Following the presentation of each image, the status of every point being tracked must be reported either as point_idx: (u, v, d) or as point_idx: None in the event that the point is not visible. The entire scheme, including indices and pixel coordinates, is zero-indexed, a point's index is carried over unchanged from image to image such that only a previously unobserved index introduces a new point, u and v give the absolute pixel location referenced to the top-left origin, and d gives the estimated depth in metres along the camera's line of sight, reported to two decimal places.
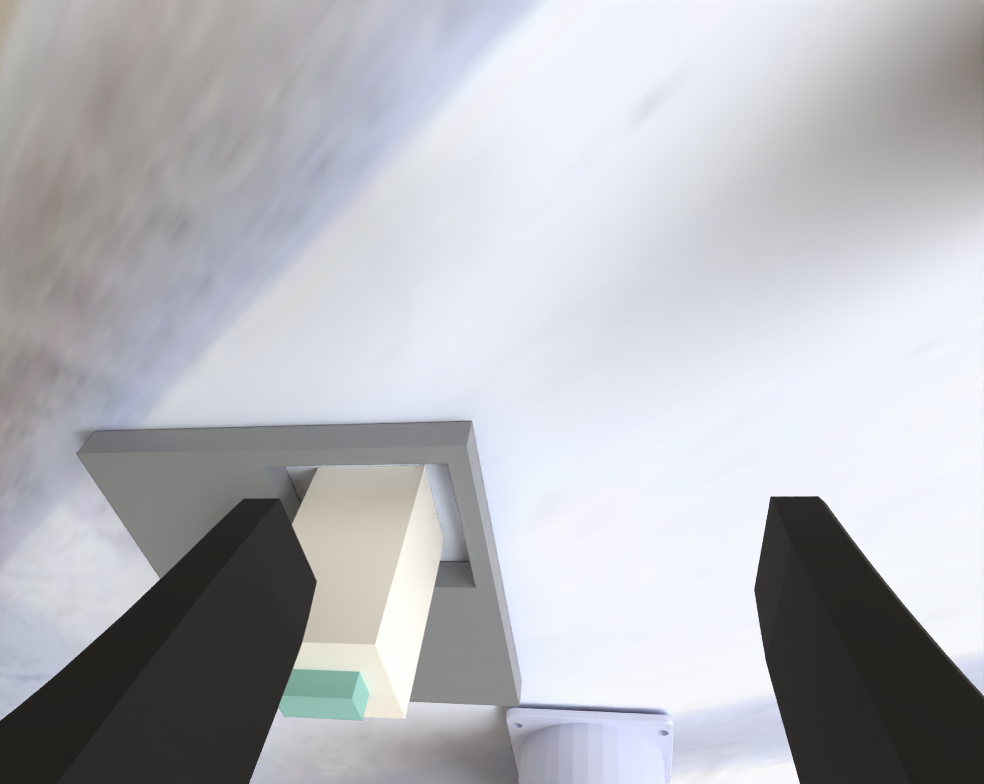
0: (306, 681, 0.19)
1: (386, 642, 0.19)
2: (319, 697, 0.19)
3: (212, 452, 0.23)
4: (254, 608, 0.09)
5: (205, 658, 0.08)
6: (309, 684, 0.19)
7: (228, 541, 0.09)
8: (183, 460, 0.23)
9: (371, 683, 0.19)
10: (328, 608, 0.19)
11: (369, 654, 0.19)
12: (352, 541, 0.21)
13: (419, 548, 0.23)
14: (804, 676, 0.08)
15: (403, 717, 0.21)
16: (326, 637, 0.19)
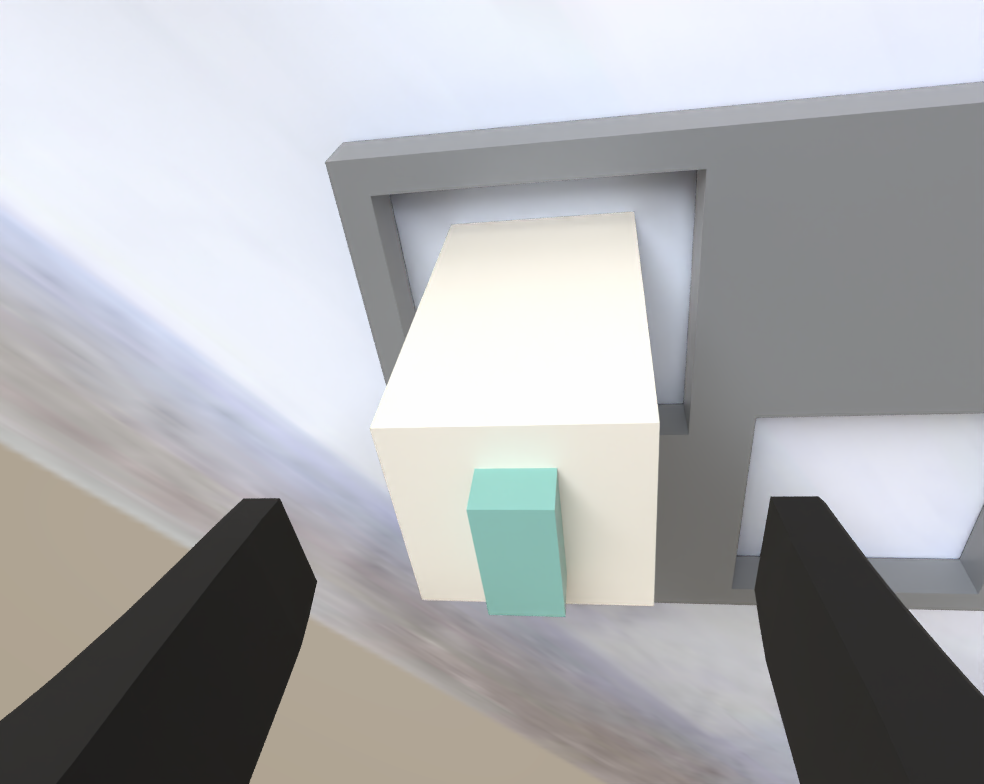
0: None
1: (434, 400, 0.10)
2: (477, 554, 0.10)
3: None
4: (254, 608, 0.09)
5: (205, 658, 0.08)
6: None
7: (228, 541, 0.09)
8: None
9: (514, 458, 0.10)
10: None
11: (408, 443, 0.10)
12: None
13: (511, 270, 0.13)
14: (804, 676, 0.08)
15: (654, 425, 0.09)
16: (393, 491, 0.10)
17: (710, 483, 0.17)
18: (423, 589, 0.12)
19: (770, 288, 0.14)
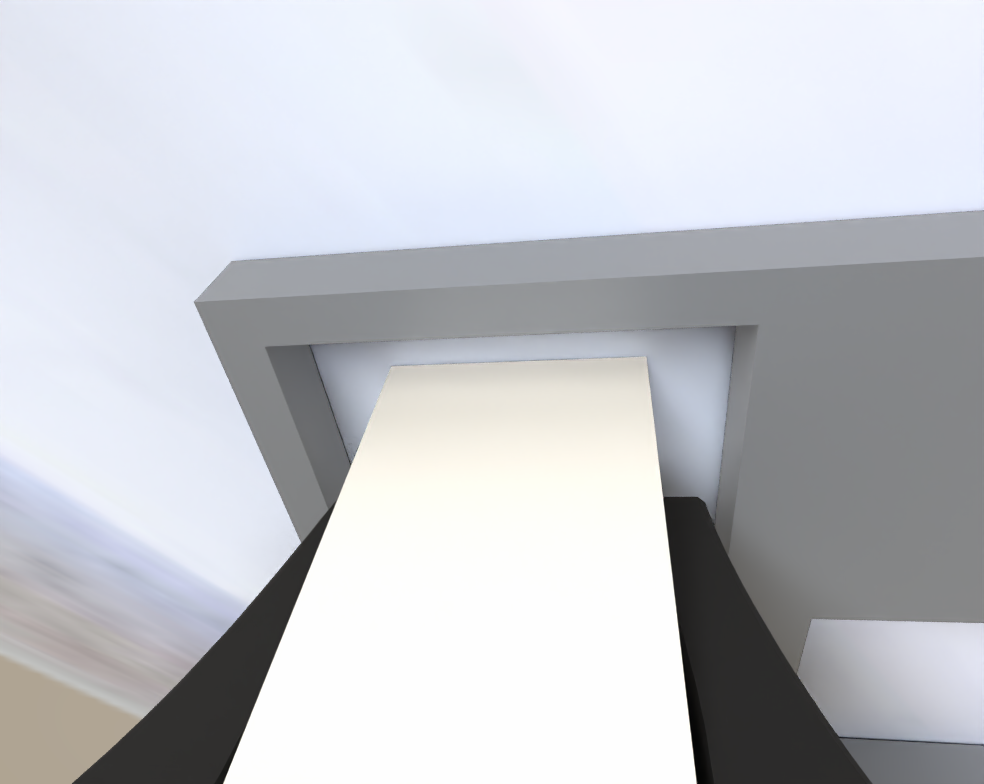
0: None
1: None
2: None
3: None
4: None
5: None
6: None
7: None
8: None
9: None
10: None
11: None
12: None
13: (466, 470, 0.09)
14: None
15: None
16: None
17: None
18: None
19: (843, 475, 0.09)
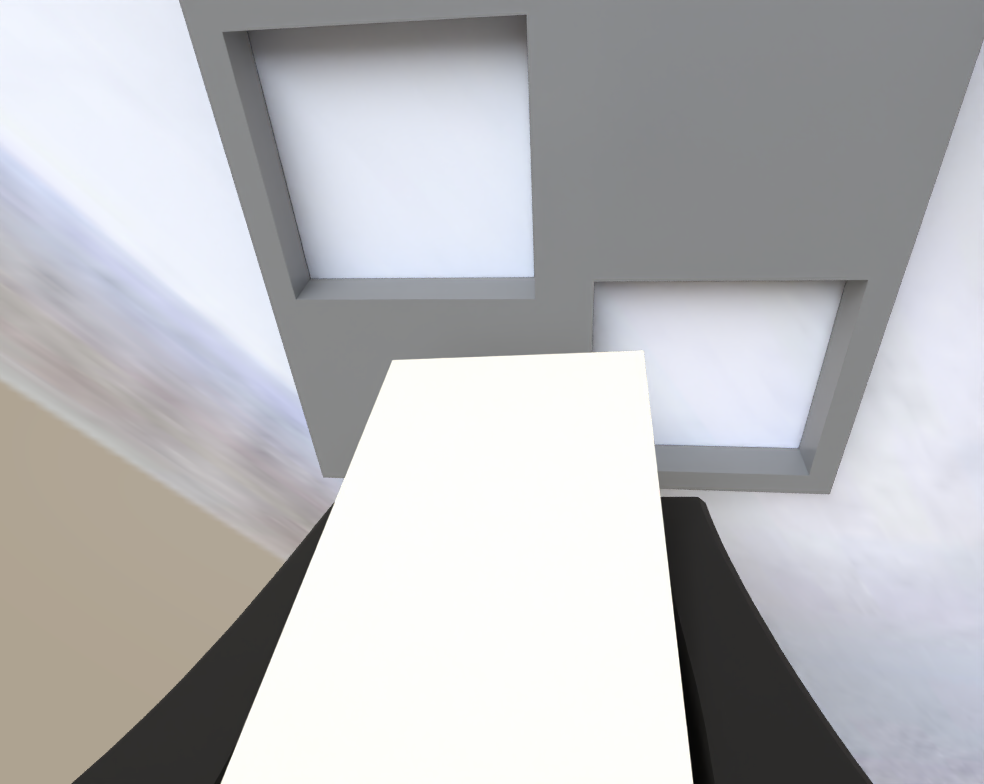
0: None
1: (315, 780, 0.06)
2: None
3: (286, 347, 0.19)
4: None
5: None
6: None
7: None
8: (308, 381, 0.20)
9: None
10: None
11: None
12: None
13: (466, 460, 0.09)
14: None
15: None
16: None
17: (559, 352, 0.18)
18: None
19: (594, 143, 0.15)
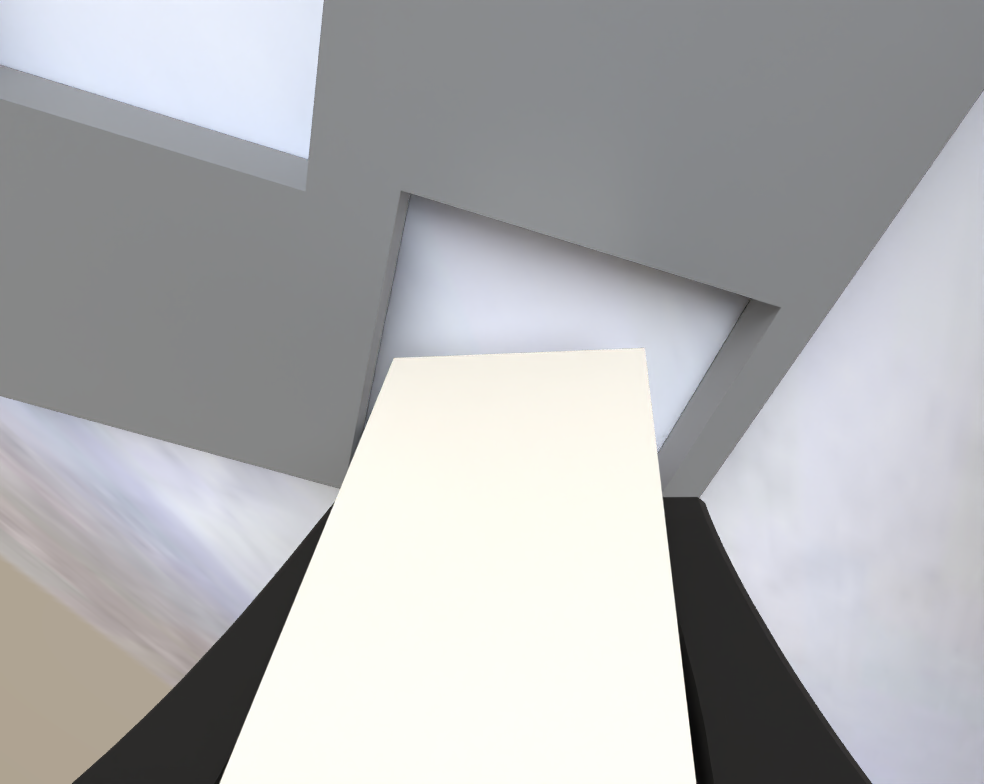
0: None
1: (314, 774, 0.06)
2: None
3: None
4: None
5: None
6: None
7: None
8: None
9: None
10: None
11: None
12: None
13: (468, 457, 0.09)
14: None
15: None
16: None
17: (331, 288, 0.12)
18: None
19: None
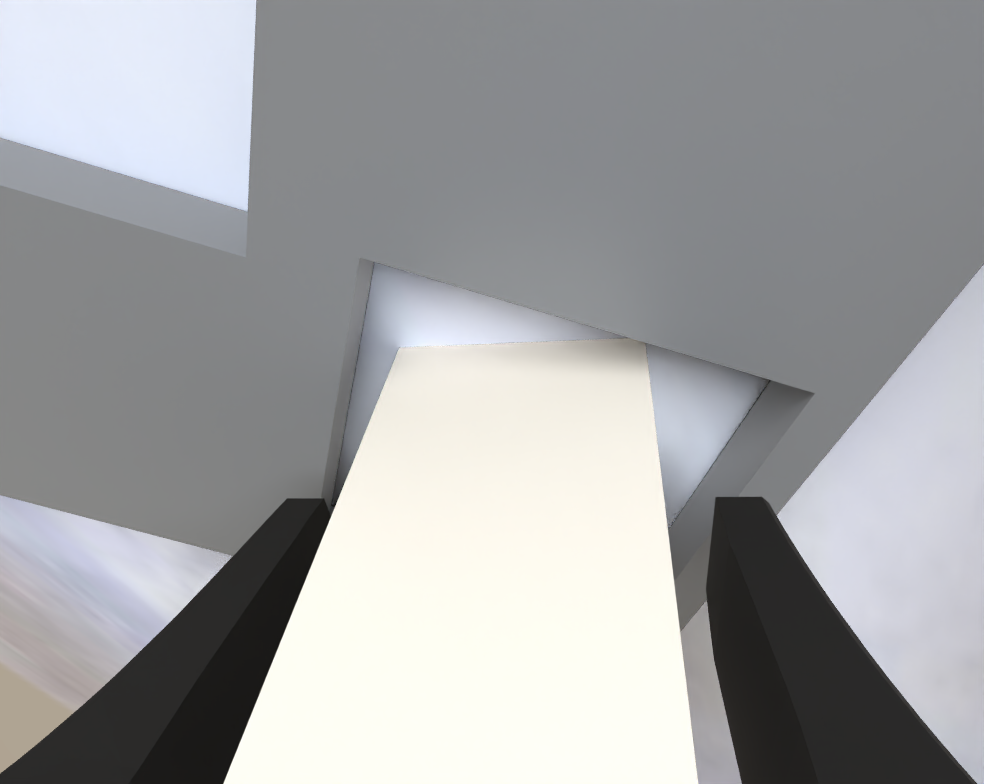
0: None
1: (329, 737, 0.06)
2: None
3: None
4: None
5: (258, 660, 0.08)
6: None
7: (276, 542, 0.09)
8: None
9: None
10: None
11: None
12: None
13: (473, 441, 0.09)
14: (741, 674, 0.08)
15: None
16: None
17: (282, 364, 0.10)
18: None
19: None
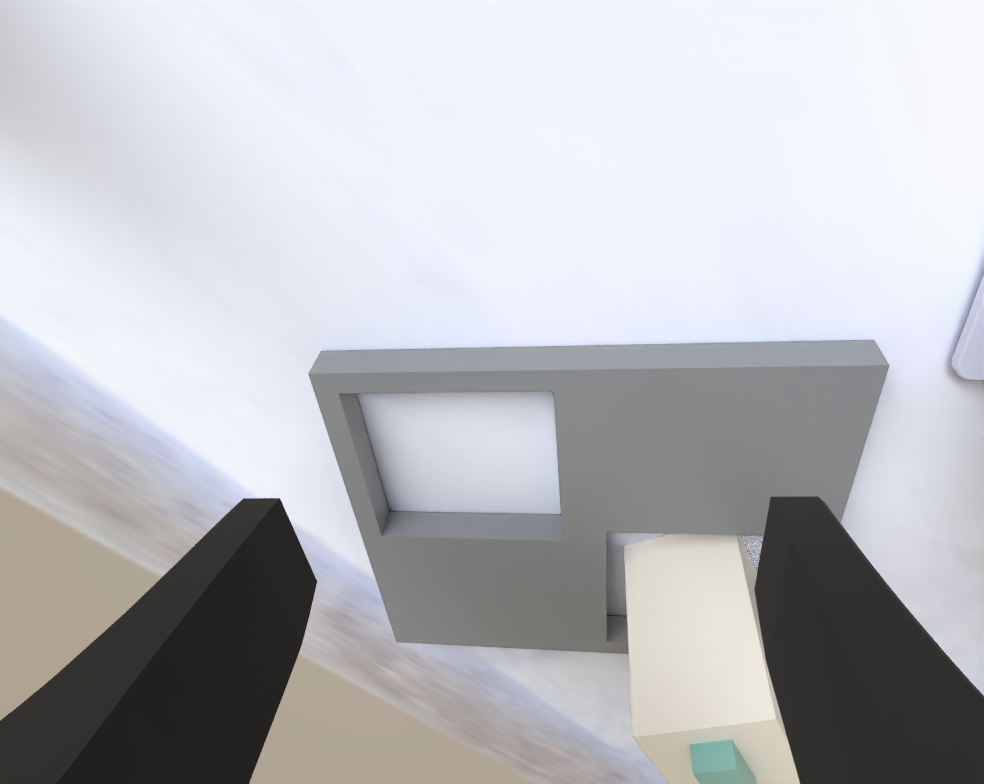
0: None
1: (658, 712, 0.19)
2: None
3: (372, 563, 0.25)
4: (254, 608, 0.09)
5: (205, 658, 0.08)
6: None
7: (228, 541, 0.09)
8: (387, 583, 0.26)
9: (708, 738, 0.19)
10: None
11: (653, 739, 0.19)
12: None
13: (671, 591, 0.22)
14: (804, 676, 0.08)
15: (773, 720, 0.18)
16: (649, 754, 0.20)
17: (581, 571, 0.24)
18: None
19: (603, 457, 0.21)
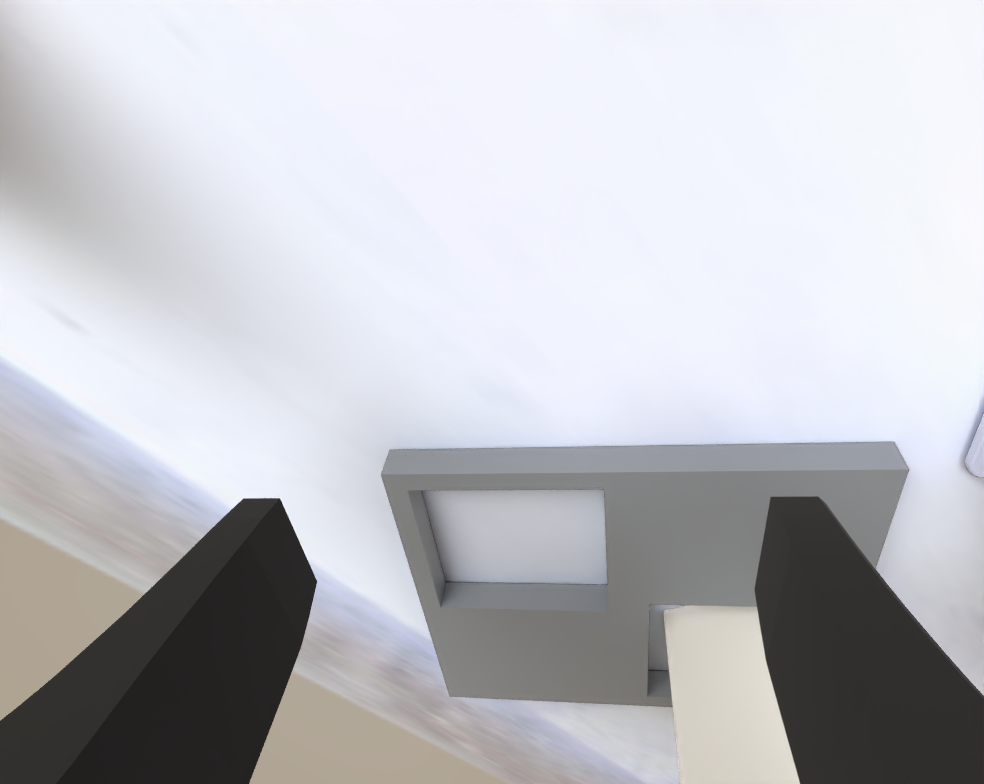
0: None
1: (705, 777, 0.21)
2: None
3: (430, 629, 0.27)
4: (254, 608, 0.09)
5: (205, 658, 0.08)
6: None
7: (228, 541, 0.09)
8: (444, 647, 0.28)
9: None
10: None
11: None
12: None
13: (711, 659, 0.24)
14: (804, 676, 0.08)
15: None
16: None
17: (625, 637, 0.26)
18: None
19: (648, 543, 0.23)
